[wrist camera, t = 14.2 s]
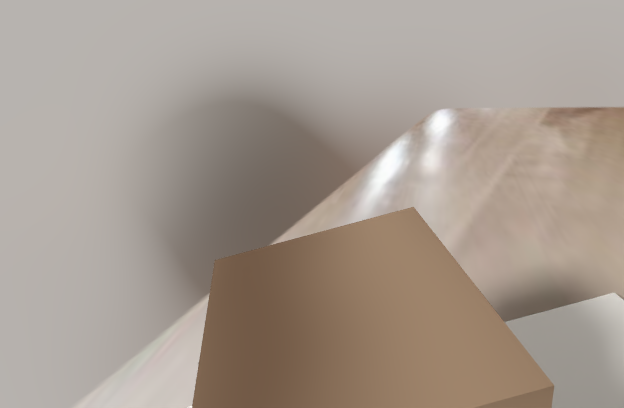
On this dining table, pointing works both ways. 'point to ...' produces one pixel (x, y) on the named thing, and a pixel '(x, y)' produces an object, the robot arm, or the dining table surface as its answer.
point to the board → (578, 351)
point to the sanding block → (359, 327)
